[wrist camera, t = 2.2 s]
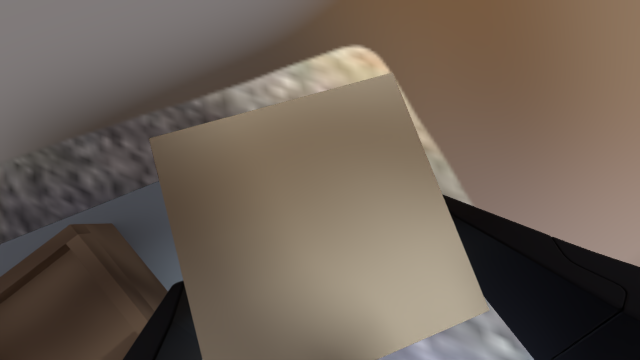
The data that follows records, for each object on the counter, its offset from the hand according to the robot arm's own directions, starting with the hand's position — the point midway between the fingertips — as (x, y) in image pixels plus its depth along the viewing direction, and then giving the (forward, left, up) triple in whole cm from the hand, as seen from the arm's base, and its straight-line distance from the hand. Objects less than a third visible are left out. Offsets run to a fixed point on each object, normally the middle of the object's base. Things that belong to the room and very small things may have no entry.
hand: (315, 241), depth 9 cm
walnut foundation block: (-9, +10, -8) cm, 16 cm away
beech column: (+1, 0, -8) cm, 8 cm away
